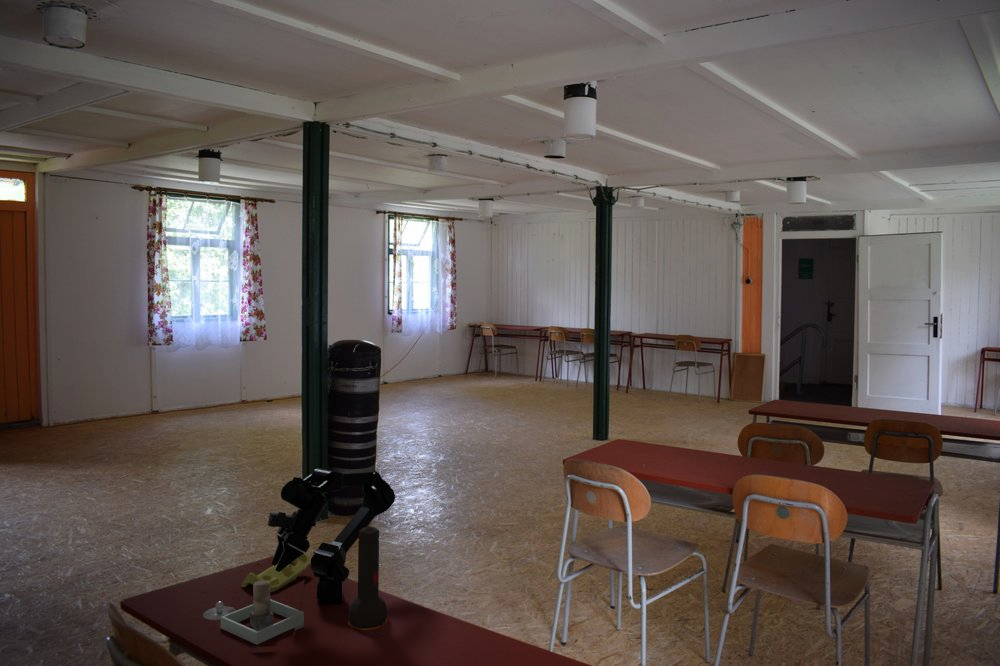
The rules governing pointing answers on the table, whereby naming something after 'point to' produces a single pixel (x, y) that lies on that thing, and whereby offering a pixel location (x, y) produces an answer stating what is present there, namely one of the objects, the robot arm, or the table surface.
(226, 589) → the table surface
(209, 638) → the table surface
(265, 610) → the strut
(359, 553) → the flashlight
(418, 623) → the table surface
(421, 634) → the table surface
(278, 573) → the plastic component
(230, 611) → the stud mount
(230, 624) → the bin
